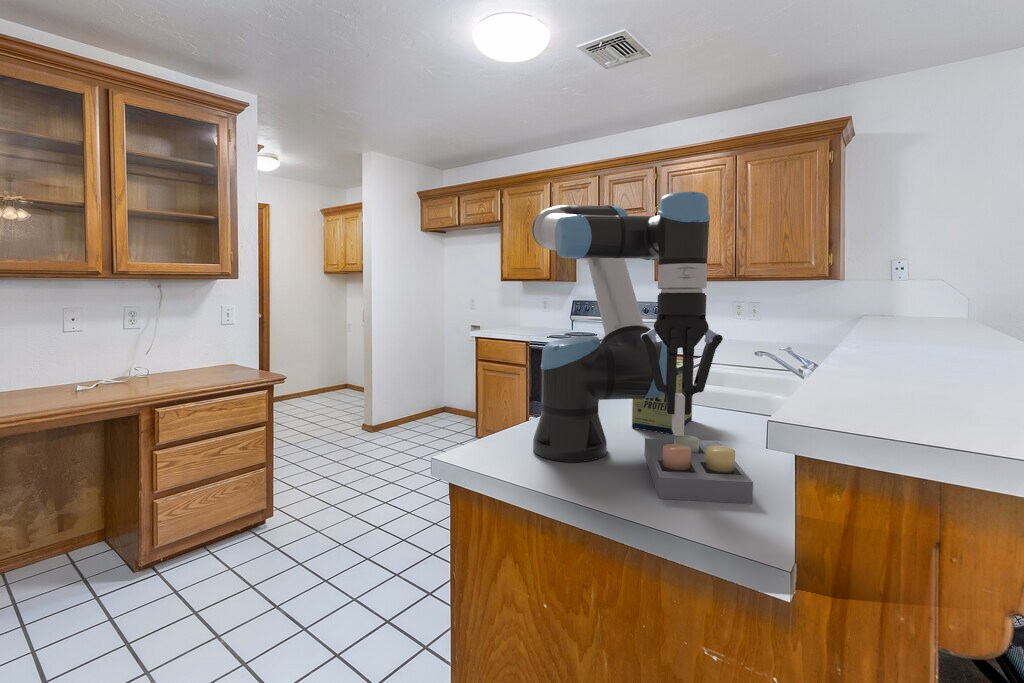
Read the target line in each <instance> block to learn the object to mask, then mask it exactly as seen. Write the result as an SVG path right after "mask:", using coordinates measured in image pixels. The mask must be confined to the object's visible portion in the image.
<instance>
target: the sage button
mask: <svg viewBox="0 0 1024 683" xmlns="http://www.w3.org/2000/svg"><path fill="white" fill-rule="evenodd" d="M673 438H674V444H681V445H685V446H688V447H690V448H691V453H699V440H700V438H699V437H697V436H694V435H688V434H684V436H678V435H674V437H673Z"/></svg>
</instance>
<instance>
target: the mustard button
mask: <svg viewBox="0 0 1024 683" xmlns="http://www.w3.org/2000/svg"><path fill="white" fill-rule="evenodd" d="M735 461H736V450H735V449H734V448H732V447H730V446H726V445H725V446H724V445H722V446H717V445H714V446H708V447H707V449H706V467H707V468H709V469H711V470H714V471H719V472H731V471H734V469H735Z"/></svg>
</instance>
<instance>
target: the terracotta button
mask: <svg viewBox="0 0 1024 683" xmlns="http://www.w3.org/2000/svg"><path fill="white" fill-rule="evenodd" d="M690 459H691V448H690V447H688V446H685V445H681V444H666V445H664V446H663V465H664V466H665V467H667V468H670V469H675V470H685V469H689V468H690Z"/></svg>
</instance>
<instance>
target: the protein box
mask: <svg viewBox="0 0 1024 683" xmlns="http://www.w3.org/2000/svg"><path fill="white" fill-rule="evenodd" d="M694 364H695V361H694V360H693V372H694V370H695V369H694V368H695V367H694ZM682 371H683V359H680V358H679V359H678V358H677V372H676V393H682V392H683V391H682ZM693 396H694V395H693ZM693 396H692V401H691V413H690V415H685V417H684V427H686V426H687V425H688V424H690V422H691V420H693V418H692V417H693ZM631 406H632V408H631V409H632V410H631V411H632V413H631V418H632V419H631V428H632V427H633V428H632V429H635V428H639V429H638V430H642V429H645V430H644V431H648V430H651V431H650V432H654V431H657V432H656V433H660V432H663V433H662V434H666V433H669V434H668V435H672V434H673V432H672V414H668V413H667V411H666V393H664V394H663V395H662V396H660V397H655V398H646V399H632V405H631Z"/></svg>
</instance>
